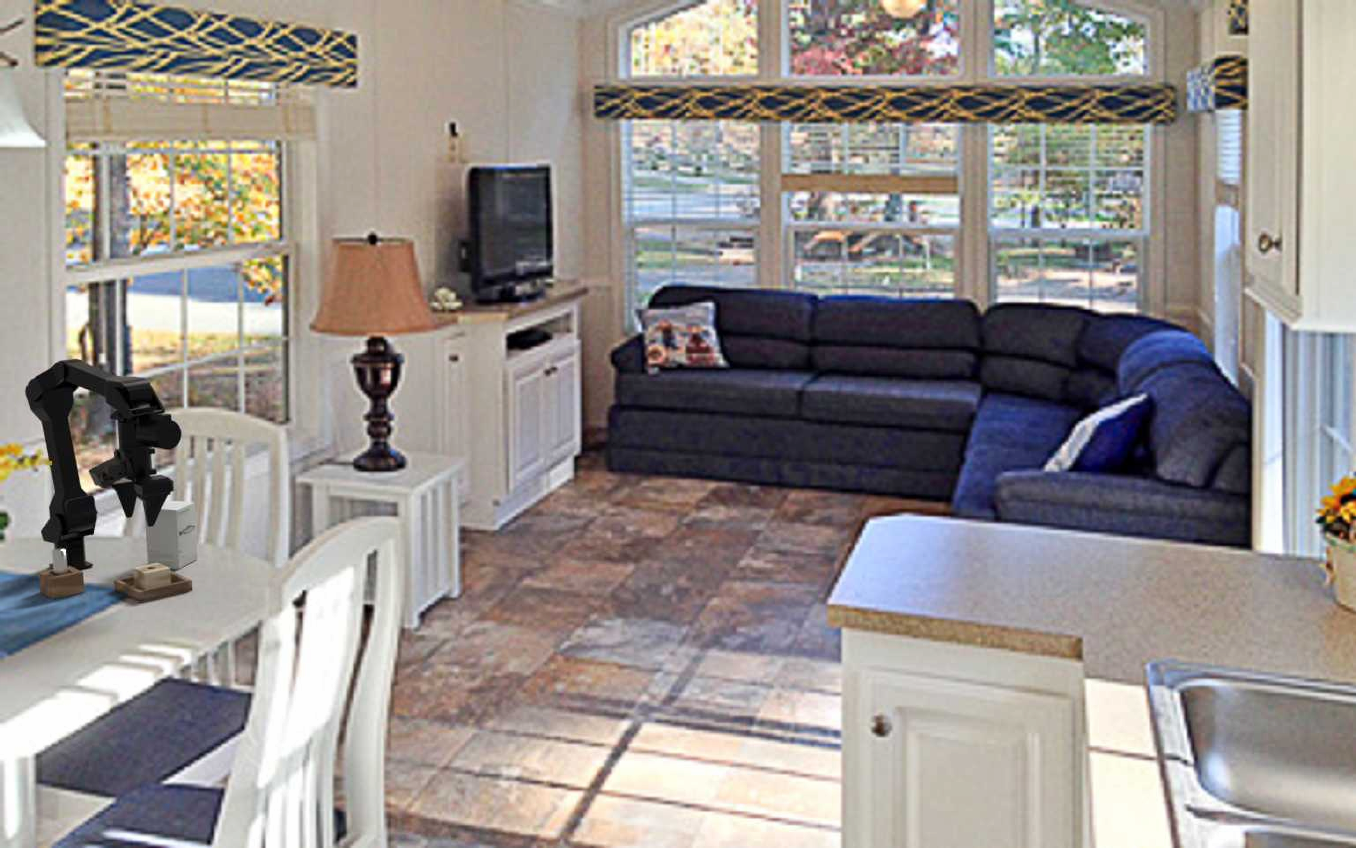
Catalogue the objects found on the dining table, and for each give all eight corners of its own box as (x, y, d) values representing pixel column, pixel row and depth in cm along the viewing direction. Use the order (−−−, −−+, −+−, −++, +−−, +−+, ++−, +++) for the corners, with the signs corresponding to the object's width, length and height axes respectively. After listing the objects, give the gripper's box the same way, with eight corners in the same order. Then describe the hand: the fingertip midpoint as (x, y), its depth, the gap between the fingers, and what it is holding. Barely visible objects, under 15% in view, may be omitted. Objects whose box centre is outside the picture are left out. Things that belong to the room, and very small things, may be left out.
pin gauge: (53, 592, 260) (49, 549, 259) (65, 589, 262) (62, 547, 260) (58, 595, 259) (55, 552, 257) (71, 592, 260) (67, 550, 259)
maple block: (134, 587, 262) (133, 567, 261) (159, 582, 266) (157, 562, 265) (146, 593, 259) (145, 573, 258) (171, 587, 262) (170, 567, 262)
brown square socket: (40, 592, 260) (38, 572, 259) (71, 585, 265) (69, 565, 264) (53, 599, 256) (51, 579, 255) (84, 592, 261) (83, 572, 260)
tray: (114, 590, 262) (113, 580, 262) (166, 578, 270) (166, 568, 269) (139, 602, 255) (138, 592, 255) (192, 590, 263) (191, 580, 262)
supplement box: (179, 570, 275) (175, 510, 273) (146, 567, 277) (142, 508, 274) (199, 559, 282) (195, 501, 280) (167, 557, 284) (163, 499, 281)
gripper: (72, 442, 260) (77, 520, 263) (115, 457, 247) (120, 539, 250) (128, 434, 268) (133, 510, 271) (172, 448, 255) (177, 528, 258)
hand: (139, 521), depth 262 cm, fingers open, 9 cm apart
